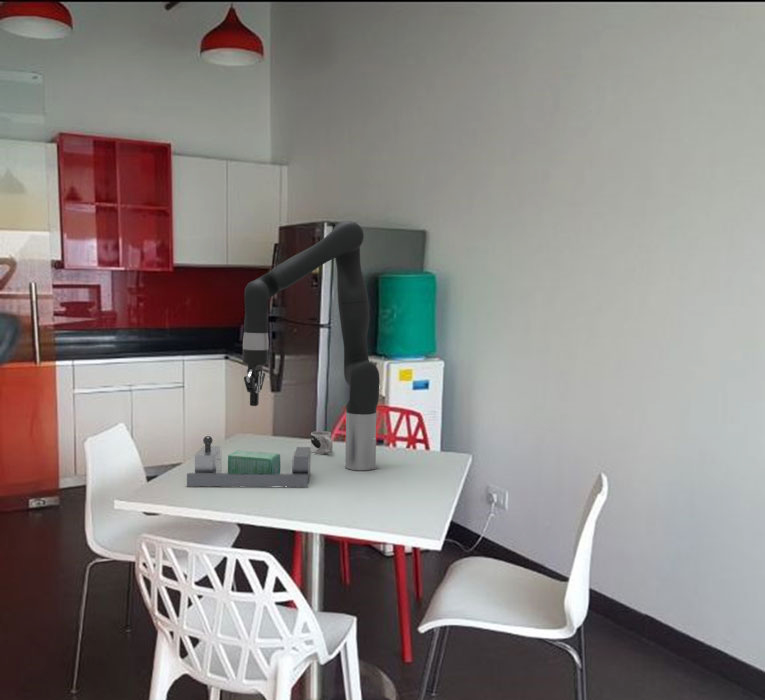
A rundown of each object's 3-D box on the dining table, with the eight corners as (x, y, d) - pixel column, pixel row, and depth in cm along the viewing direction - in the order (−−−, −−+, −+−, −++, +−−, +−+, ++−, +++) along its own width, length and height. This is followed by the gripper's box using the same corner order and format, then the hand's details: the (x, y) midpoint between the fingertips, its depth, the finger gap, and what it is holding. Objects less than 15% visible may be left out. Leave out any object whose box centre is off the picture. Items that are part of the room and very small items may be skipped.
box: (271, 484, 205) (272, 457, 204) (227, 480, 208) (226, 454, 207) (280, 477, 212) (280, 452, 211) (237, 474, 215) (237, 449, 214)
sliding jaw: (222, 473, 215) (222, 432, 214) (215, 483, 204) (215, 440, 202) (203, 472, 215) (203, 431, 214) (194, 483, 203) (194, 440, 202)
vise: (310, 473, 217) (310, 447, 216) (307, 487, 202) (307, 459, 201) (198, 472, 215) (198, 446, 214) (186, 486, 200) (186, 458, 199)
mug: (307, 451, 245) (307, 432, 244) (323, 449, 248) (324, 430, 248) (322, 457, 237) (323, 437, 236) (340, 455, 240) (340, 435, 240)
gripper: (260, 350, 209) (259, 409, 210) (274, 346, 222) (272, 403, 223) (235, 348, 210) (234, 408, 211) (250, 345, 223) (249, 401, 224)
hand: (254, 405), depth 217 cm, fingers closed
